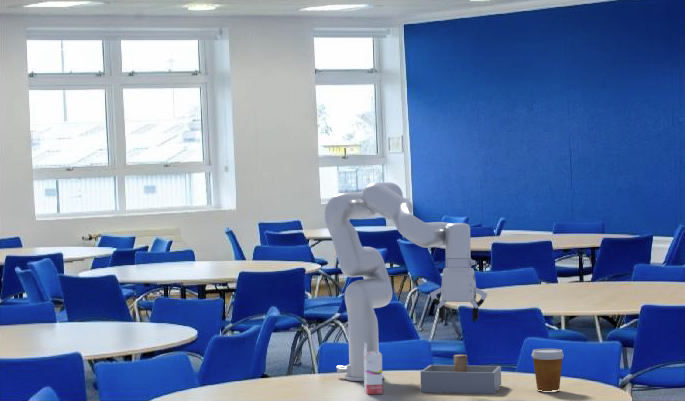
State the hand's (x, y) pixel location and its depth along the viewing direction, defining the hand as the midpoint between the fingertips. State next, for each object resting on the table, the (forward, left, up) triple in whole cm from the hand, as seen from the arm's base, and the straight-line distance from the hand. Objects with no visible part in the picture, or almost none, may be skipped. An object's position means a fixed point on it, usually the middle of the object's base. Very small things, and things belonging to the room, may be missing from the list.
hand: (458, 320), depth 368 cm
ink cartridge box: (-25, -10, -21) cm, 33 cm away
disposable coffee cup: (+26, -2, -21) cm, 34 cm away
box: (0, -1, -20) cm, 20 cm away
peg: (0, -1, -20) cm, 20 cm away
